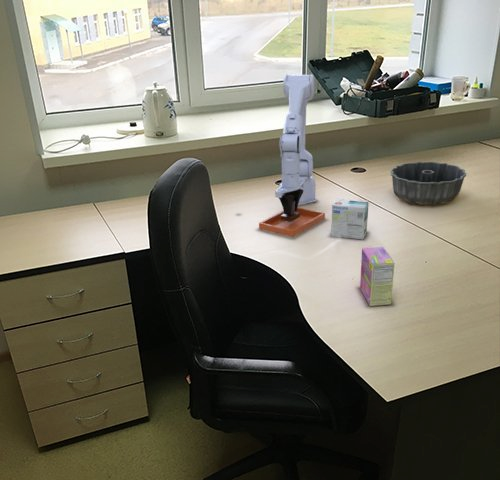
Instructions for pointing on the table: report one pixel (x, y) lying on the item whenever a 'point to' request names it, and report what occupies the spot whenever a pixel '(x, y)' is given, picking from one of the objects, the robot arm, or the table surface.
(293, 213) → the stamp
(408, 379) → the table surface
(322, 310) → the table surface
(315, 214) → the tray
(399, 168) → the bundt pan
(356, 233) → the light bulb box
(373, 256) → the box
